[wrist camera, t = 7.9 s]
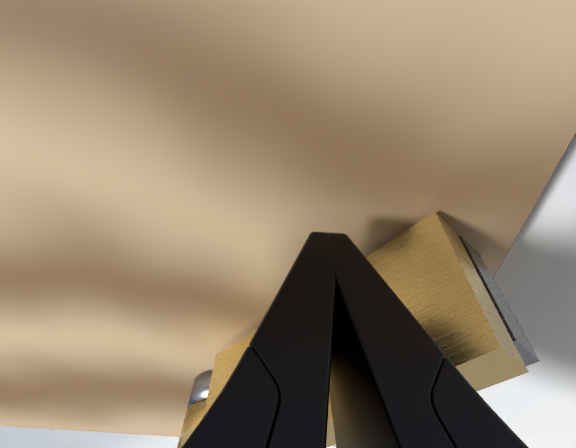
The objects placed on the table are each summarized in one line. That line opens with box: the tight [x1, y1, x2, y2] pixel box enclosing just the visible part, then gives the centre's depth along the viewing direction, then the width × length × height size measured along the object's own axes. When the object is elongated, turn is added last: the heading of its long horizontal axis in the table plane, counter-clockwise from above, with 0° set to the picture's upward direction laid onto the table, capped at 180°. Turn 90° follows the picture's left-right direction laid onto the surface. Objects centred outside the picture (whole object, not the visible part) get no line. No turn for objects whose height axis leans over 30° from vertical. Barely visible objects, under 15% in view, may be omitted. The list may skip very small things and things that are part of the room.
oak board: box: [0, 0, 576, 446], centre depth 12 cm, size 20×20×1 cm
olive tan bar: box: [177, 212, 529, 448], centre depth 11 cm, size 12×3×4 cm, turn 136°
